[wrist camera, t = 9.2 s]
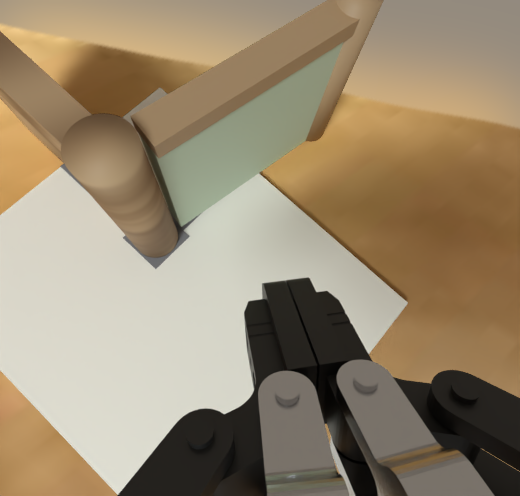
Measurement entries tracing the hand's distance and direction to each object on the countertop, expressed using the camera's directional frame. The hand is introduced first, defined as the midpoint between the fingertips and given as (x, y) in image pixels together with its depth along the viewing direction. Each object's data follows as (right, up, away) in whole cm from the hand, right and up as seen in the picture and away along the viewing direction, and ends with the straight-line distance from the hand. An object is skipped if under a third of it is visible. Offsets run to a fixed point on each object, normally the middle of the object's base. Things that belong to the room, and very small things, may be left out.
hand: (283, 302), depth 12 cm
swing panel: (-1, +7, +10) cm, 12 cm away
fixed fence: (-10, +5, +10) cm, 15 cm away
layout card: (-5, -1, +8) cm, 10 cm away
